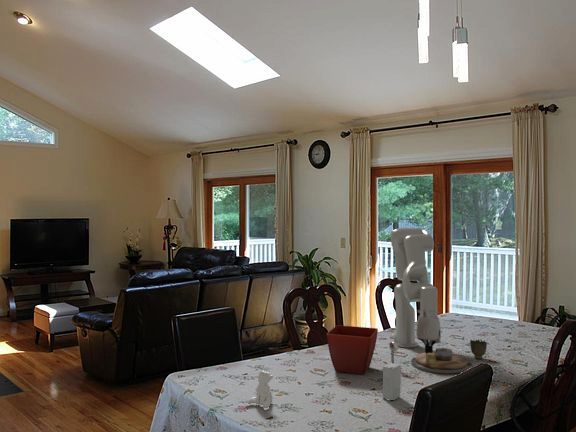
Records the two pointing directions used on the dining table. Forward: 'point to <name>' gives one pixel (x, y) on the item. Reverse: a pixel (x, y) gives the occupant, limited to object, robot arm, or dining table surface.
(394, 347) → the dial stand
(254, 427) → the dining table surface
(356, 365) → the plant pot
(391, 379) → the skincare box
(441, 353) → the cover
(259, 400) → the sitting furry creature
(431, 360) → the platter
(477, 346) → the cup
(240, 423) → the dining table surface
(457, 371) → the turntable base
